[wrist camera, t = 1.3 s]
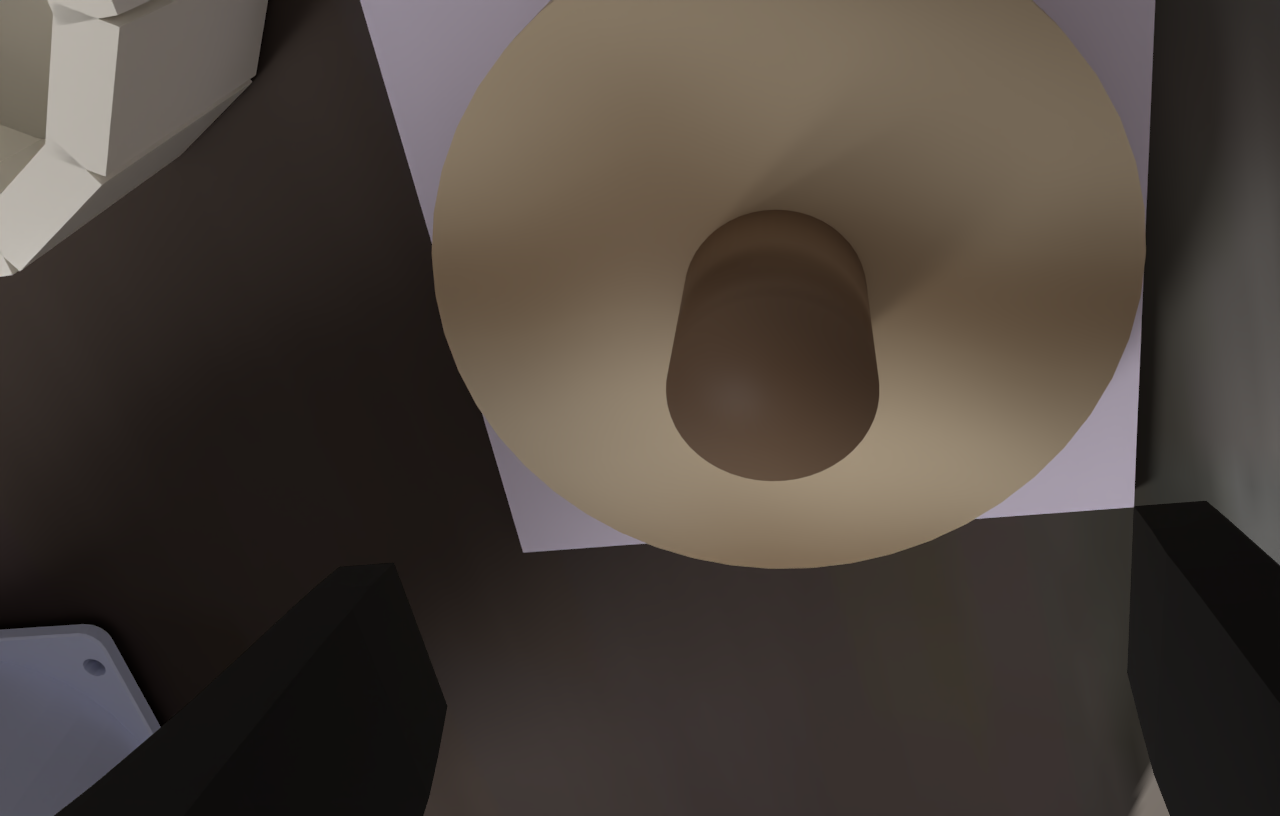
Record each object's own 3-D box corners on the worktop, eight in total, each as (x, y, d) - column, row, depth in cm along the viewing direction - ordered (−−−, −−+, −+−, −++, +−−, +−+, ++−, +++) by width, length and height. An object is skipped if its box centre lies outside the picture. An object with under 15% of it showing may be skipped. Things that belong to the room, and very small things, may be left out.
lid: (1110, 490, 21) (1184, 673, 17) (537, 535, 23) (483, 706, 19) (1130, -167, 15) (1247, -125, 11) (377, -30, 17) (255, 46, 13)
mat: (1128, 494, 21) (1134, 507, 21) (527, 540, 23) (523, 552, 23) (1156, -209, 15) (1164, -207, 15) (353, -57, 17) (344, -53, 17)
